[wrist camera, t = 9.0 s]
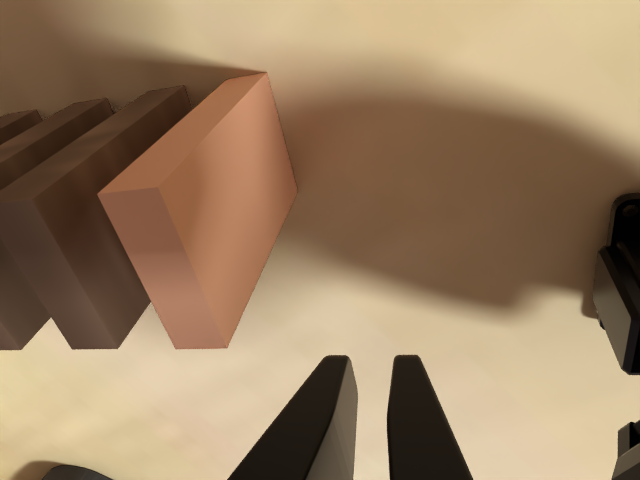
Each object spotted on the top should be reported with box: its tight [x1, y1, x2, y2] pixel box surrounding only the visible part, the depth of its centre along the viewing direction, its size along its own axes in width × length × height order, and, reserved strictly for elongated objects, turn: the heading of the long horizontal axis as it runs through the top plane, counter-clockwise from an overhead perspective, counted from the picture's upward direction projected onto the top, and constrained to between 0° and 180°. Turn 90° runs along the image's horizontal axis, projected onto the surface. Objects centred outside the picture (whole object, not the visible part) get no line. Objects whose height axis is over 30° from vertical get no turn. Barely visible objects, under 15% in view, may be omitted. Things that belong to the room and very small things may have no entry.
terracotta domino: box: [97, 72, 298, 349], centre depth 16 cm, size 2×5×9 cm, turn 12°
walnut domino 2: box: [0, 86, 192, 349], centre depth 17 cm, size 2×5×9 cm, turn 11°
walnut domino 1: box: [0, 98, 114, 350], centre depth 18 cm, size 2×5×9 cm, turn 11°
